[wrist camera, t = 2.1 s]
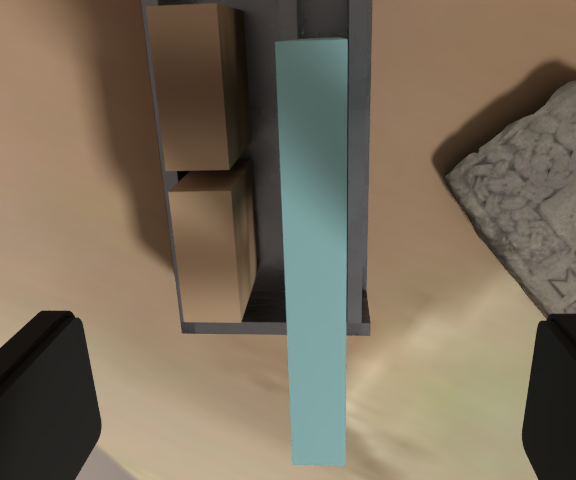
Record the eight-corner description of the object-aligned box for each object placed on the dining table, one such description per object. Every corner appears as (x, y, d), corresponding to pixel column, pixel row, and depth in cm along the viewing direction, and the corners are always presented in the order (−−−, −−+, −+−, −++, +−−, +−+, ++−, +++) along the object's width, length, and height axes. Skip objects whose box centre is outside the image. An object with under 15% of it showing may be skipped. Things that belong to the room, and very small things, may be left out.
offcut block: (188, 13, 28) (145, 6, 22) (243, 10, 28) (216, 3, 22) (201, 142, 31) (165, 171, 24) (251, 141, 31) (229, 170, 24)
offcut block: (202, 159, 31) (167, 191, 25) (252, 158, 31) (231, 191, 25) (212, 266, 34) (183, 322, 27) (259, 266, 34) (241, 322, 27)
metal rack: (167, -36, 29) (134, -50, 24) (371, -47, 28) (379, -63, 23) (201, 294, 36) (182, 333, 31) (365, 295, 35) (370, 335, 30)
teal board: (309, 38, 28) (274, 41, 12) (339, 36, 28) (347, 39, 12) (313, 244, 33) (292, 464, 16) (339, 244, 33) (345, 466, 16)
